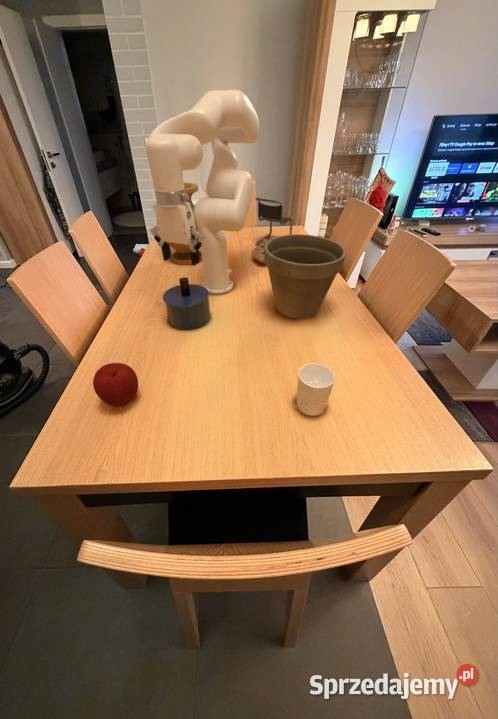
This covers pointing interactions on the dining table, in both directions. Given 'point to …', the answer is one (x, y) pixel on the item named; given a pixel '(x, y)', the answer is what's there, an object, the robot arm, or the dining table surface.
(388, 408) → the dining table surface
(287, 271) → the plant pot
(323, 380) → the white cup
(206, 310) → the tin
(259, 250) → the oil lamp
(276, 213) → the chair
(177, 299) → the lid
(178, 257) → the vase
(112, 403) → the apple
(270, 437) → the dining table surface
